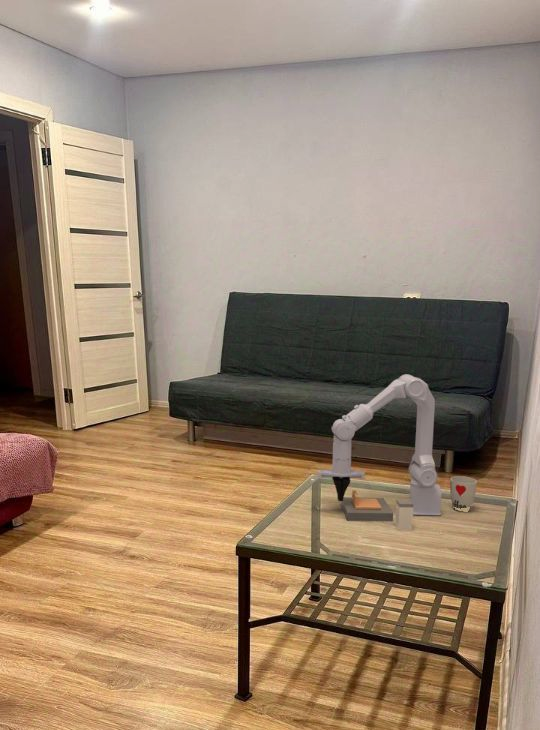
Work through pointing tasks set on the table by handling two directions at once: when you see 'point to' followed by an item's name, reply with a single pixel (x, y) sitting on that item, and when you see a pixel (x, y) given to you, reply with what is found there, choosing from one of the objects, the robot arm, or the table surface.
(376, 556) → the table surface
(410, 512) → the beige rectangular block
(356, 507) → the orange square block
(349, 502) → the socket housing
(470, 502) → the cup
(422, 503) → the robot arm
